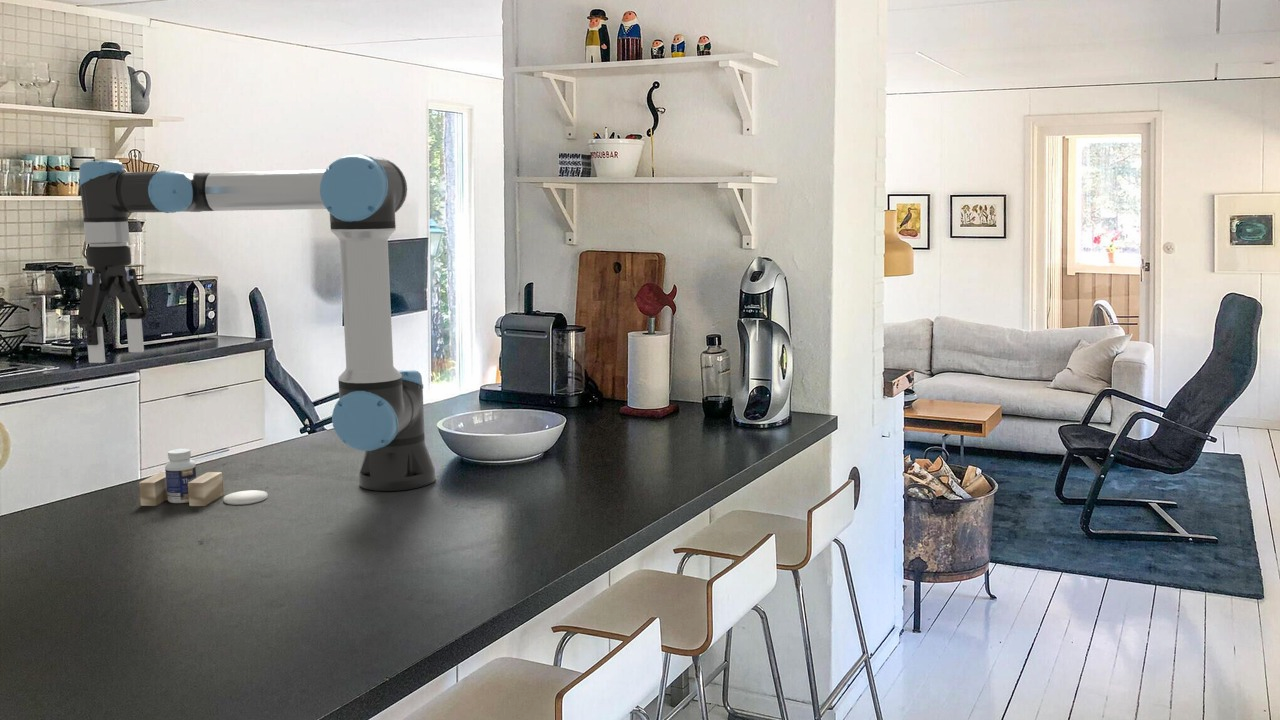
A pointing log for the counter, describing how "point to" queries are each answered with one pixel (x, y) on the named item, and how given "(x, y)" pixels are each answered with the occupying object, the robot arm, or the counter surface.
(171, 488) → the pill bottle
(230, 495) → the pad
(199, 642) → the counter surface
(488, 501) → the counter surface
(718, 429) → the counter surface
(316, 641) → the counter surface
